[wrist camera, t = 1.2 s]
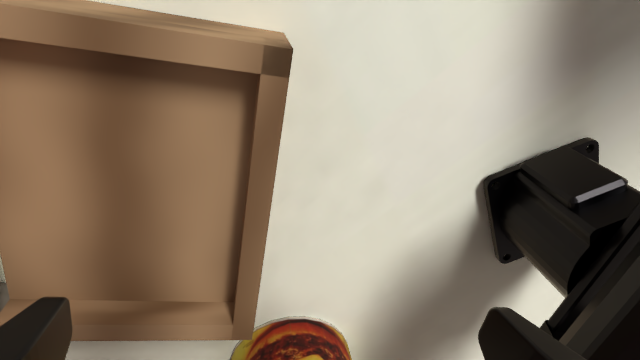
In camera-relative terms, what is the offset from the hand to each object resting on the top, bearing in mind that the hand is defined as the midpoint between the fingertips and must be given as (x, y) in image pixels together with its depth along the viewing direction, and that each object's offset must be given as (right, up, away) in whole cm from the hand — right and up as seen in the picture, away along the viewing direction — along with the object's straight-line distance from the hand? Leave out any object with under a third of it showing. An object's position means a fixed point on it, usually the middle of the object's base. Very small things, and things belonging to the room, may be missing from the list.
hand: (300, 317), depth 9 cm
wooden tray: (-9, +4, +10) cm, 14 cm away
